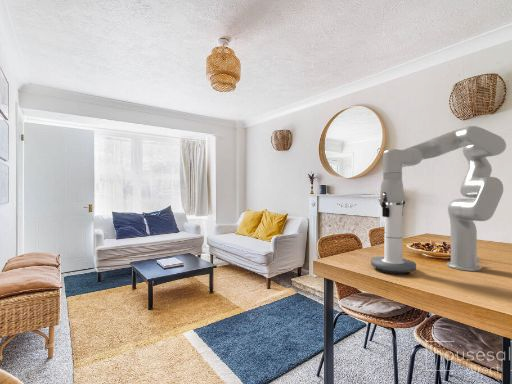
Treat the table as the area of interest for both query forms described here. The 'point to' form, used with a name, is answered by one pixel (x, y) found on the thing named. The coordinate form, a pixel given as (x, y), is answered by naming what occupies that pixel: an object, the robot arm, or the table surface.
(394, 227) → the cylindrical container
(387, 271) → the turntable base
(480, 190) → the robot arm
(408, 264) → the disc
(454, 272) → the table surface
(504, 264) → the table surface
